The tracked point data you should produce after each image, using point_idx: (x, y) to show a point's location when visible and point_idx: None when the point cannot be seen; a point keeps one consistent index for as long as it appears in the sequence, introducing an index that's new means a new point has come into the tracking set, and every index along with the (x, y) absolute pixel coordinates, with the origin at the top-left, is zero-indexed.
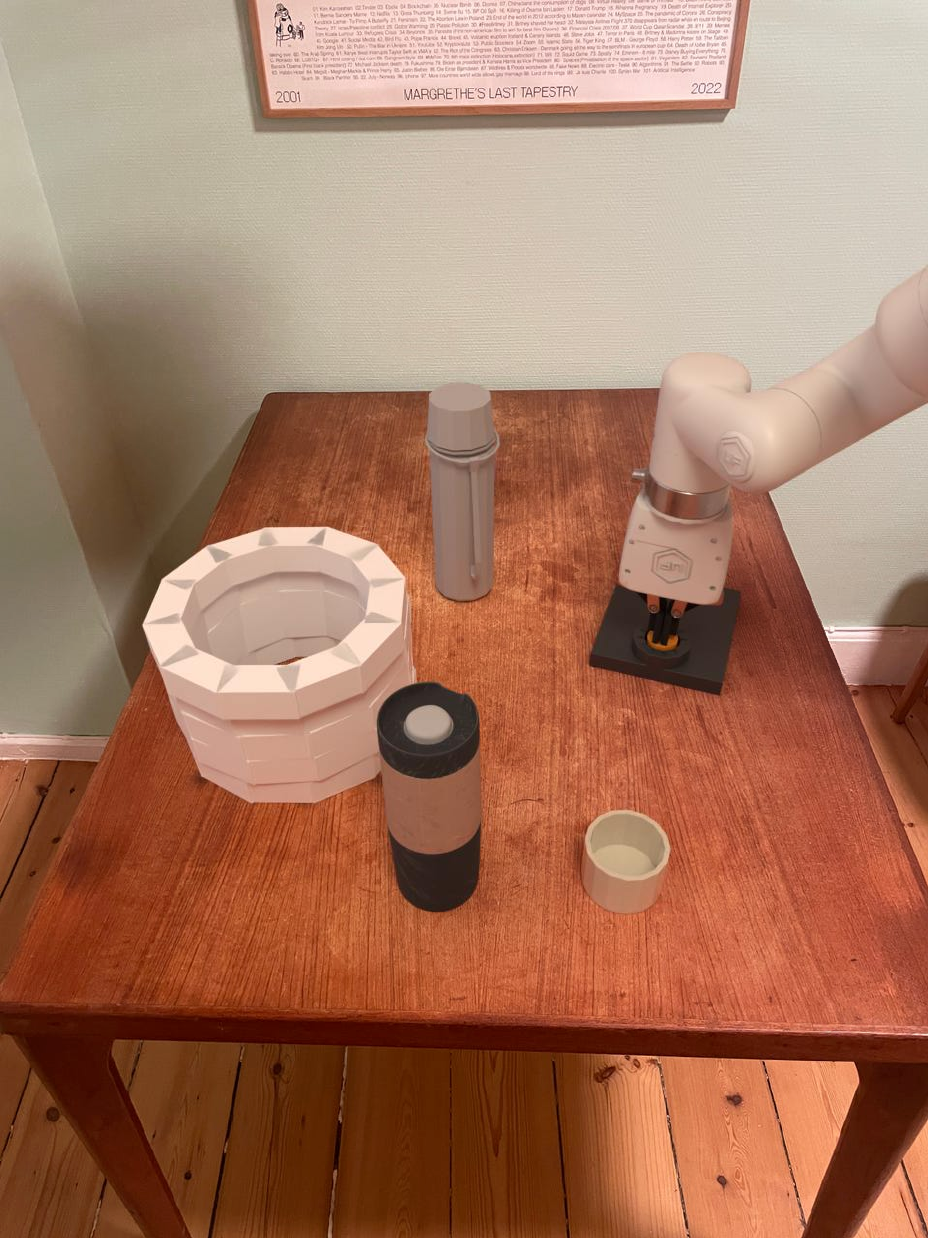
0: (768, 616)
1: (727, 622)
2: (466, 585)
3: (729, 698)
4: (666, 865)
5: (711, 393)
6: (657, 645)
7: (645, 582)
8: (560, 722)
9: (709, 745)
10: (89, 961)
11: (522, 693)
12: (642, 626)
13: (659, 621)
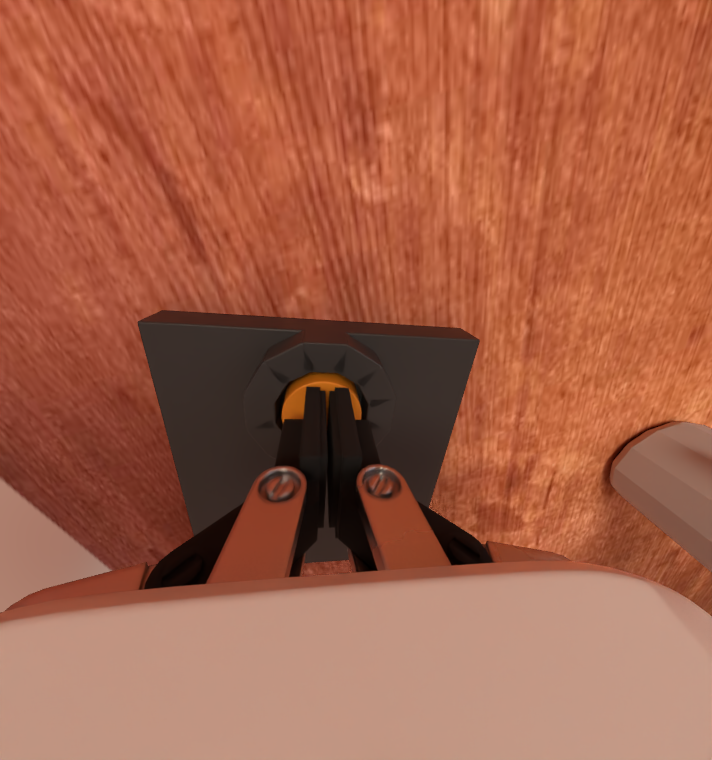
0: (153, 532)
1: (200, 502)
2: (709, 448)
3: (137, 307)
4: None
5: None
6: (331, 383)
7: (614, 733)
8: (543, 91)
9: (113, 81)
10: None
11: (616, 195)
12: (375, 437)
13: (343, 438)
